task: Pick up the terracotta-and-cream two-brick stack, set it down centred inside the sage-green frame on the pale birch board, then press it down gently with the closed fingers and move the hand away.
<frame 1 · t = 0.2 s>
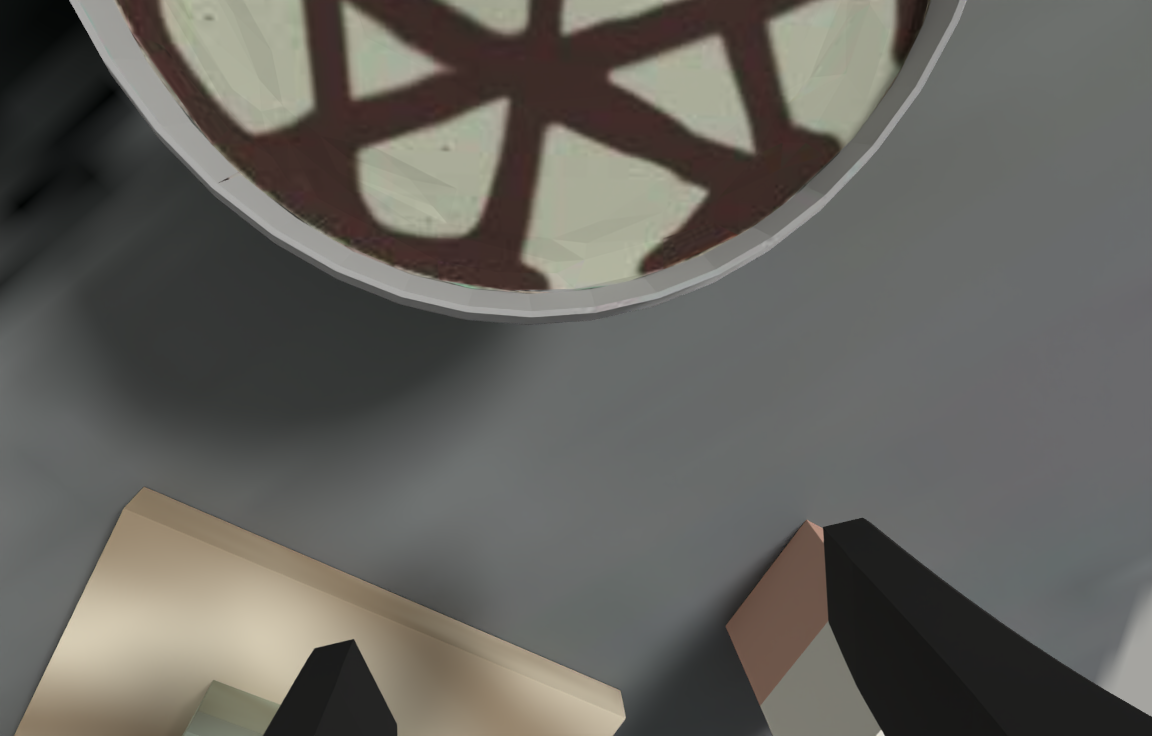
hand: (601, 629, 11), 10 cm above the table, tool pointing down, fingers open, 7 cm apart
food container: (516, 114, 19), on the table
brick stack: (818, 600, 25), on the table
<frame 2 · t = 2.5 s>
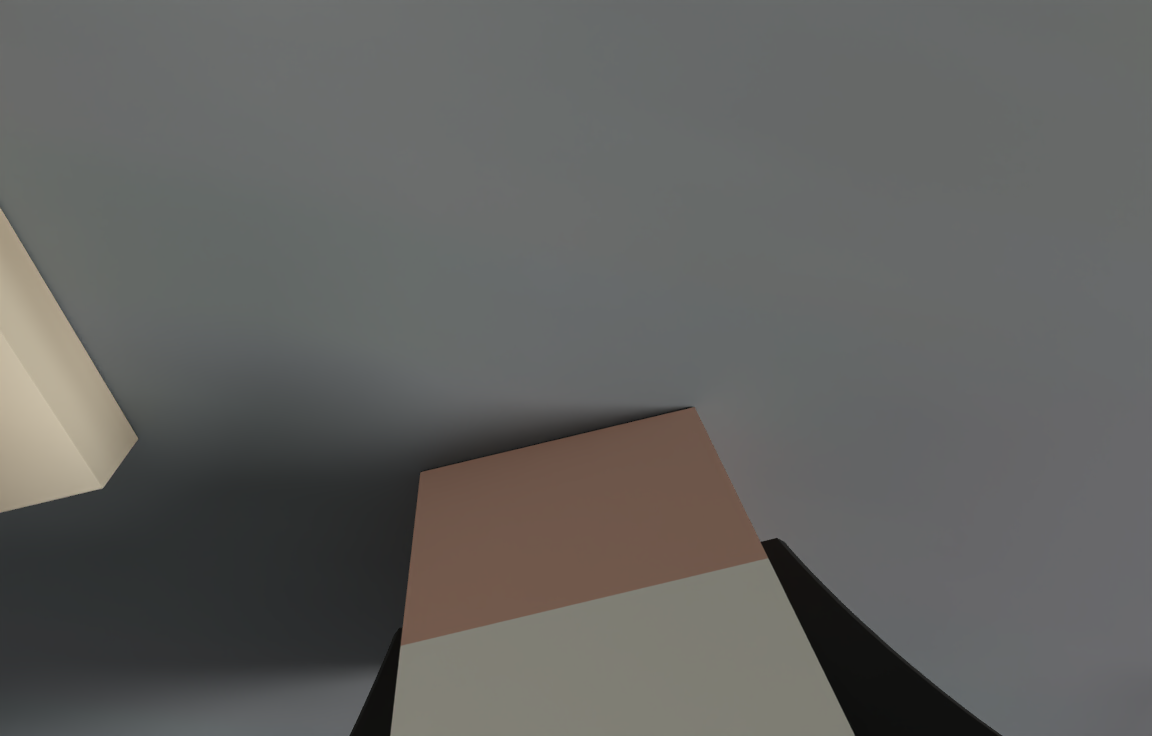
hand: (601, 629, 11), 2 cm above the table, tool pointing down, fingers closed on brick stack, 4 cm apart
brick stack: (585, 543, 13), on the table, touching gripper
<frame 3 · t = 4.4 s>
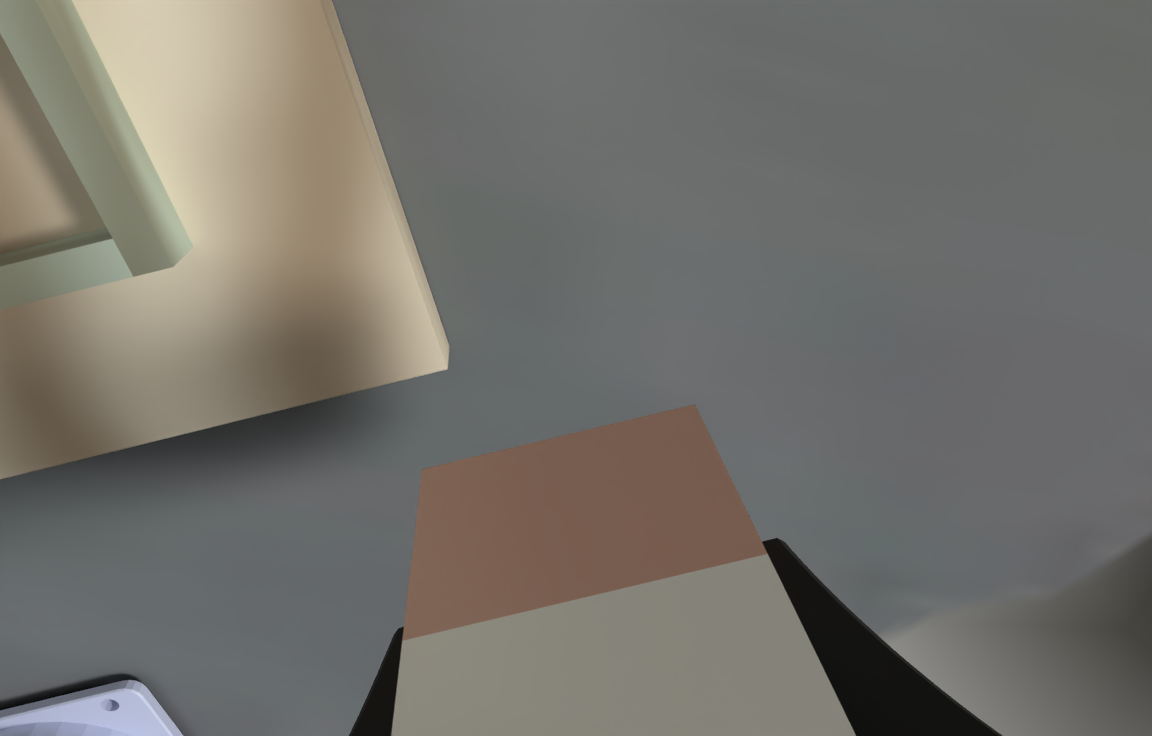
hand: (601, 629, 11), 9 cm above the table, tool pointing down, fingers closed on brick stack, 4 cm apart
brick stack: (586, 540, 13), point 7 cm above the table, touching gripper
when the fingers open (5 cm above the table, at t = 6.6 s): brick stack drops 1 cm, resting on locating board.
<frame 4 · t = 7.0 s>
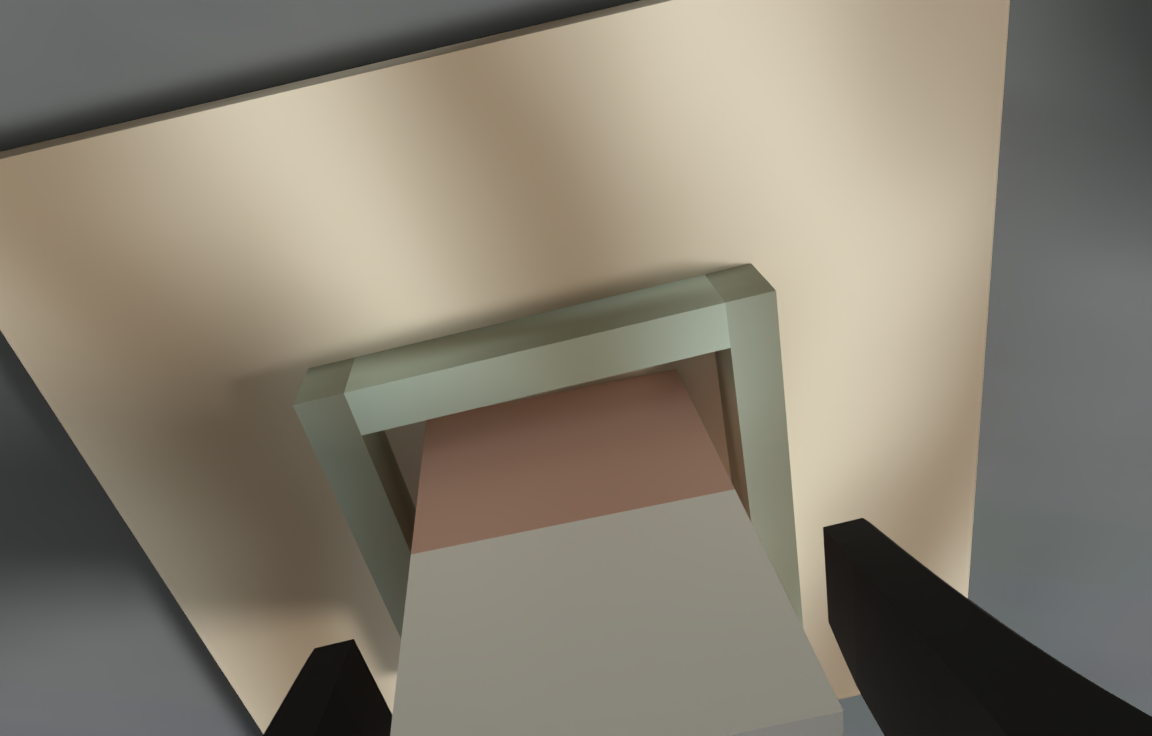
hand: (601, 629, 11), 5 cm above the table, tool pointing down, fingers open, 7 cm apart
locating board: (569, 455, 15), on the table
brick stack: (572, 492, 14), point 1 cm above the table, touching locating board
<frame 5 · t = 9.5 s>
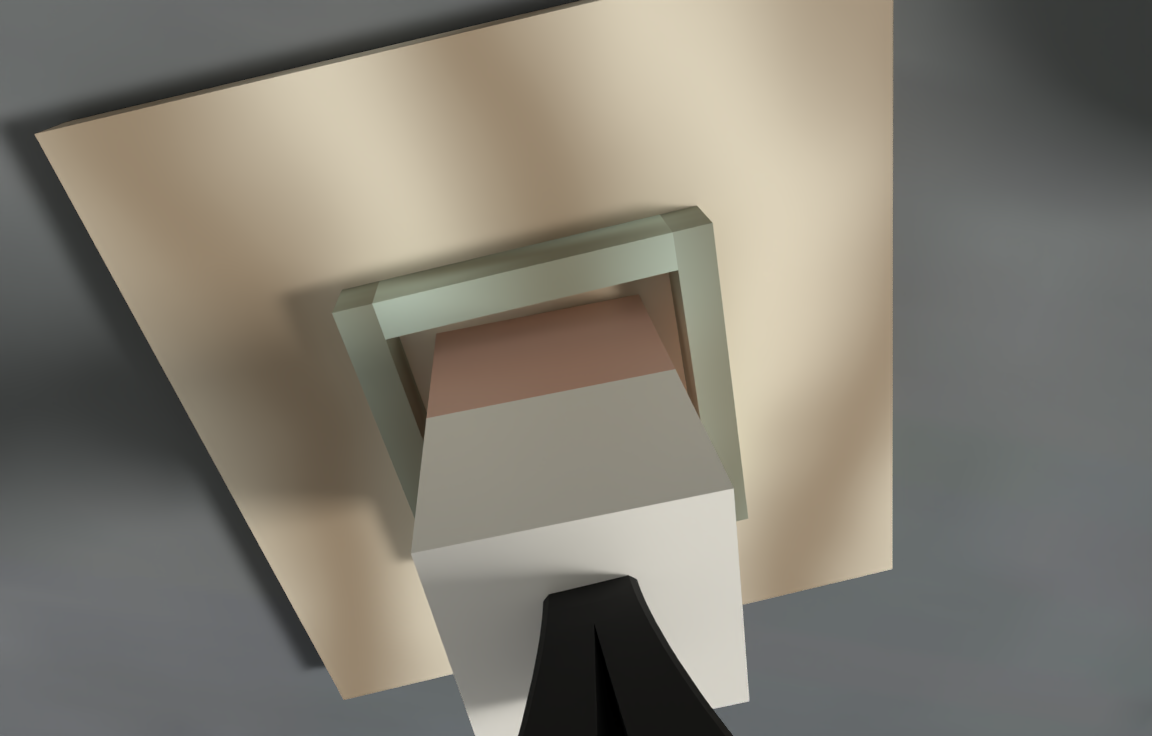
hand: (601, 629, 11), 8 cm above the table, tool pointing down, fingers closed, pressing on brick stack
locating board: (553, 375, 19), on the table
brick stack: (555, 400, 18), point 1 cm above the table, touching gripper, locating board
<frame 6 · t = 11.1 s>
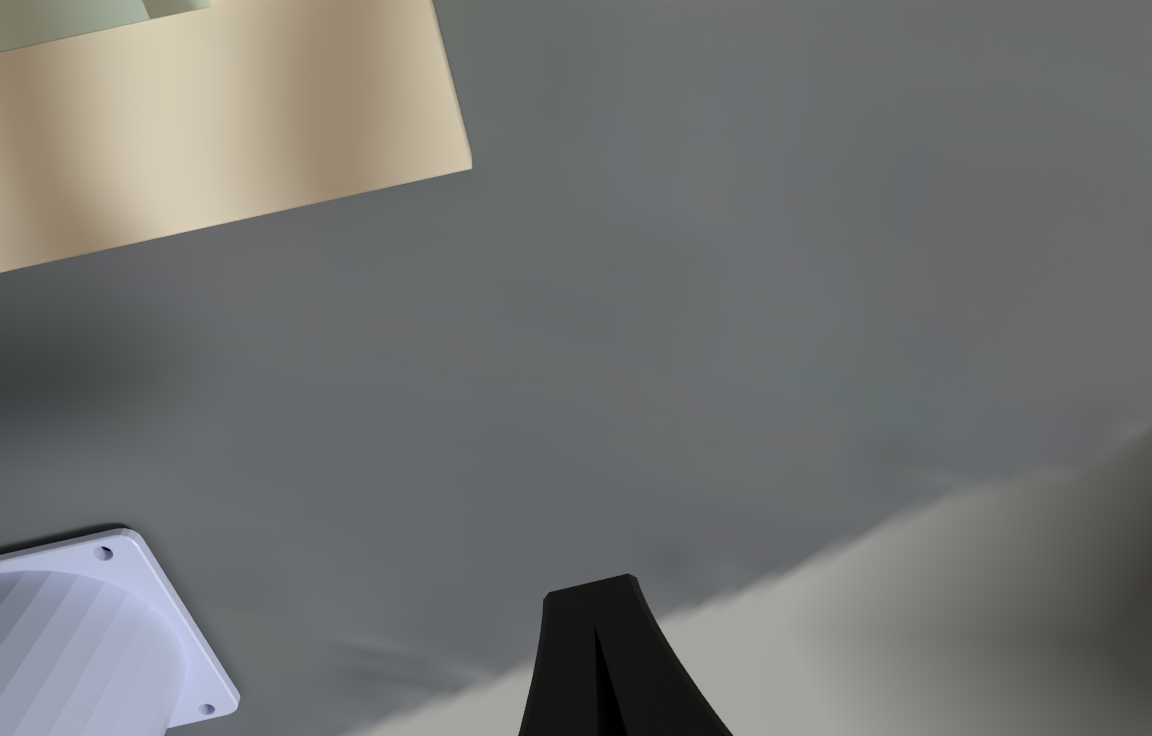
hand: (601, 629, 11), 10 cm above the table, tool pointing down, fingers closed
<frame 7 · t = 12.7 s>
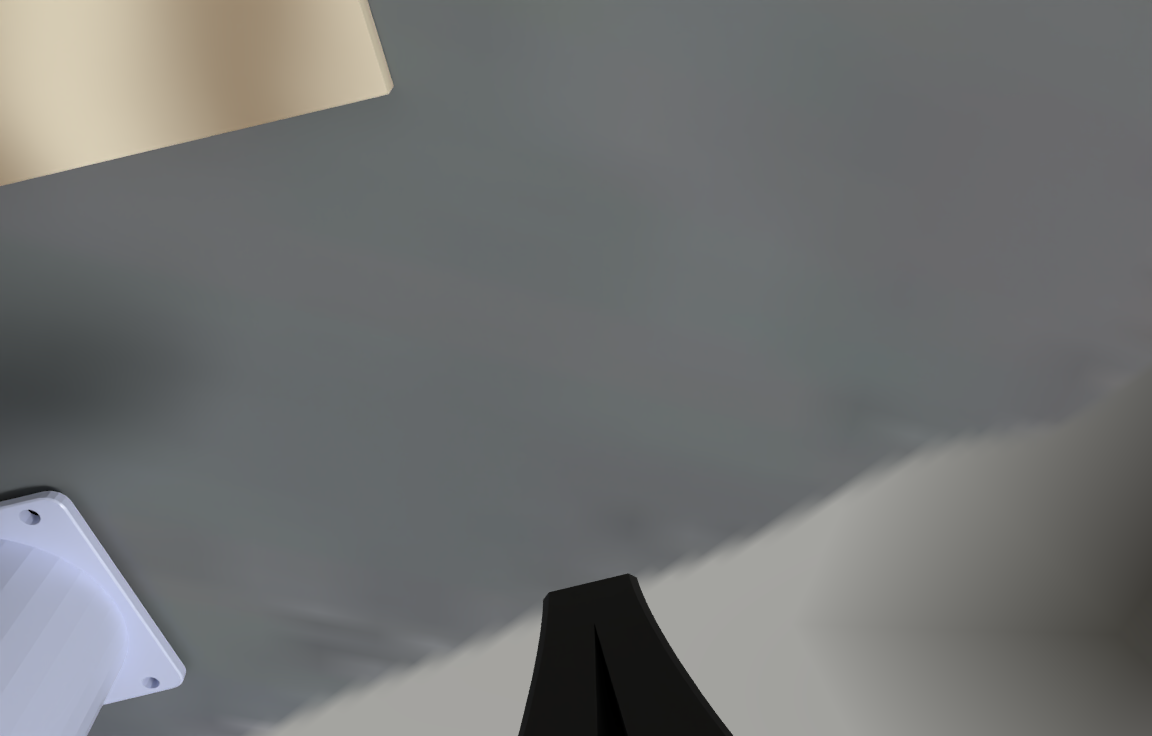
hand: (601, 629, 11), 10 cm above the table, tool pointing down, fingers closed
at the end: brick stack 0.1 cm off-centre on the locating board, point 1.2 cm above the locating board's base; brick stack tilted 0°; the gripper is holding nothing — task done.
